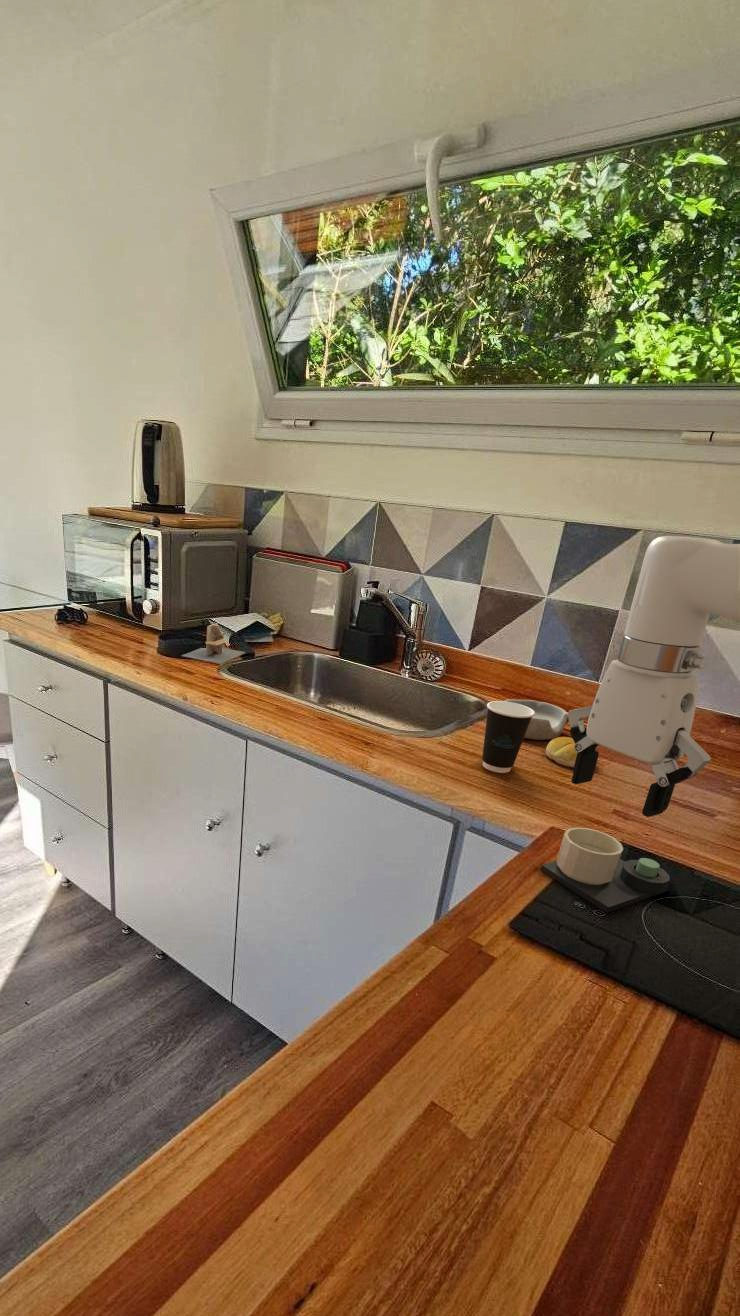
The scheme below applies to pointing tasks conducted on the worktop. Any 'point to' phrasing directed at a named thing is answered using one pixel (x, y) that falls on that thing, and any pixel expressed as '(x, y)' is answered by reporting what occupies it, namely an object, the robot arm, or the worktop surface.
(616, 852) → the bowl
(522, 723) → the dixie cup
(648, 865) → the button
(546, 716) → the dish
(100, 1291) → the worktop surface
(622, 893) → the scale
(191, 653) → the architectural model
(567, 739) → the bread roll
